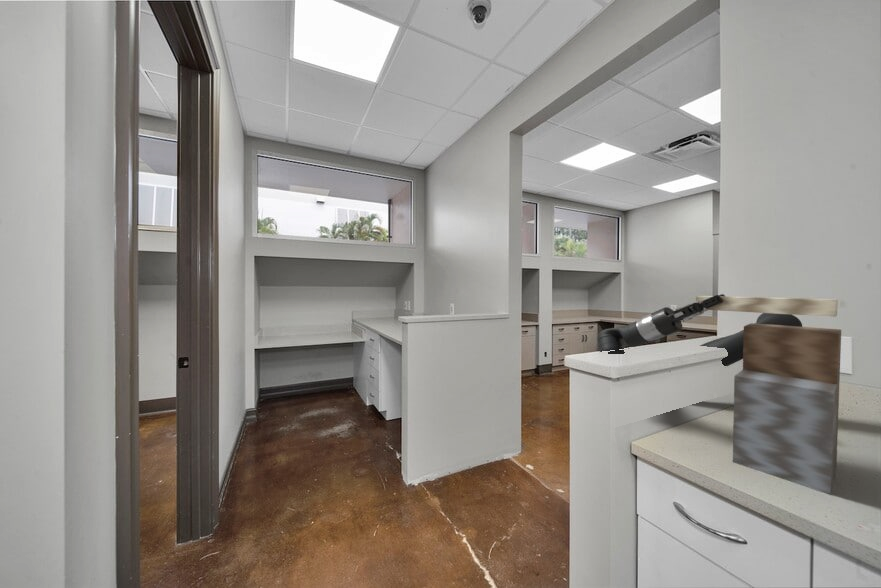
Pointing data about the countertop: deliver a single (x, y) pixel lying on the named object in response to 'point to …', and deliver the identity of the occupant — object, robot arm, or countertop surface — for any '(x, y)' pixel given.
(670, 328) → the robot arm
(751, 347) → the stepped pedestal
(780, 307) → the ash bar
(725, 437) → the countertop surface
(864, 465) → the countertop surface
